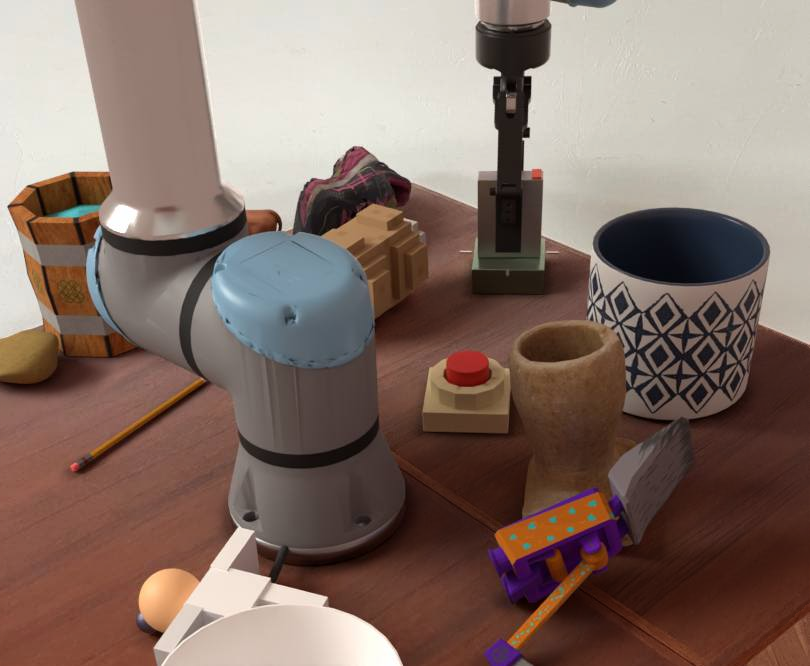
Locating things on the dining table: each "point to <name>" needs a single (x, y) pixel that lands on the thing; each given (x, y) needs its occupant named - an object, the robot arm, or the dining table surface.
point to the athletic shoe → (349, 192)
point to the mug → (66, 258)
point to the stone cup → (569, 408)
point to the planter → (680, 306)
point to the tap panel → (508, 273)
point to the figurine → (210, 594)
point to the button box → (467, 402)
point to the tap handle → (530, 214)
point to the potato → (28, 356)
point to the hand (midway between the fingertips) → (509, 223)
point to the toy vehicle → (585, 532)
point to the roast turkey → (385, 253)
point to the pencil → (135, 426)
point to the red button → (467, 369)
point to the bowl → (286, 640)
